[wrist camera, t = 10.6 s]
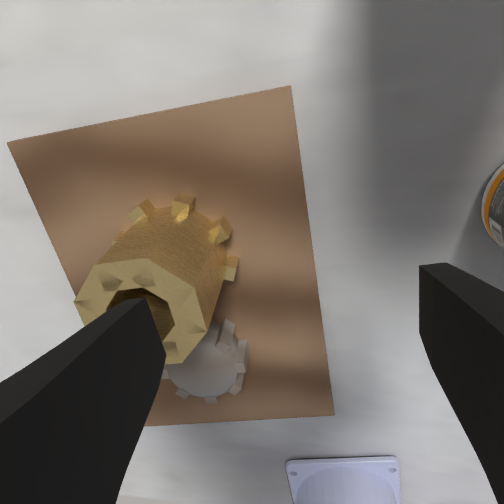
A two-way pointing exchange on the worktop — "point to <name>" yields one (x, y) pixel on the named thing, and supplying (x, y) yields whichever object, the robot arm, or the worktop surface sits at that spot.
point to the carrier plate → (238, 244)
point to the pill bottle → (494, 207)
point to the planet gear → (164, 272)
